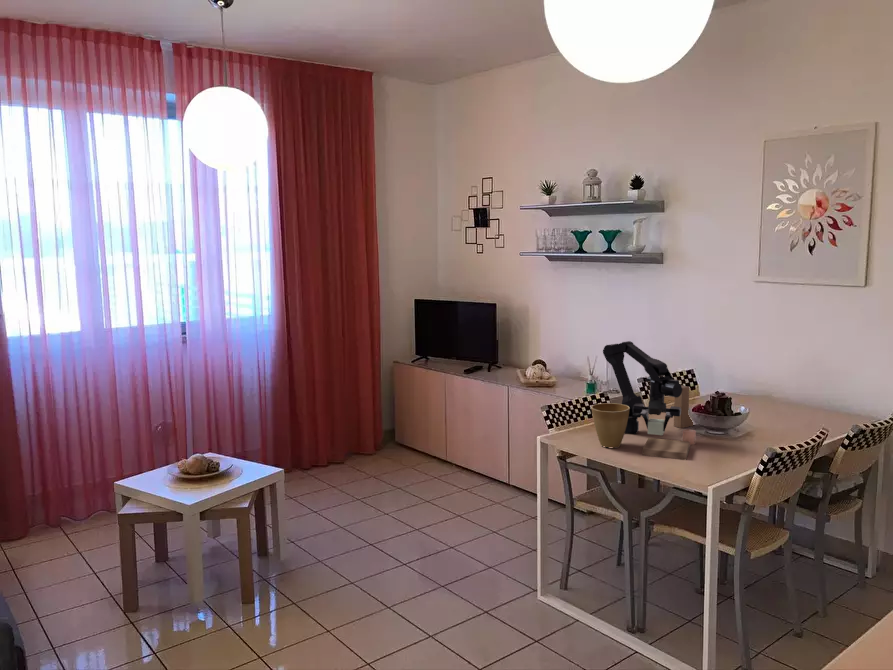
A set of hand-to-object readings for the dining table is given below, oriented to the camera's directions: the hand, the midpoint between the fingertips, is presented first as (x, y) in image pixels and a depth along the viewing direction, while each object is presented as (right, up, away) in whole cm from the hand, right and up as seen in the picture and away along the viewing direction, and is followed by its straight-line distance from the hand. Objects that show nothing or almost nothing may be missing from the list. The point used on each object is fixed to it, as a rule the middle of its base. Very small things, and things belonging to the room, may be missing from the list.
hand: (656, 430), depth 298 cm
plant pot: (-21, -6, -7) cm, 22 cm away
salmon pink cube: (+12, -5, -4) cm, 14 cm away
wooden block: (+18, -1, +21) cm, 28 cm away
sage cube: (0, -1, 0) cm, 1 cm away
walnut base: (0, -6, -15) cm, 17 cm away
